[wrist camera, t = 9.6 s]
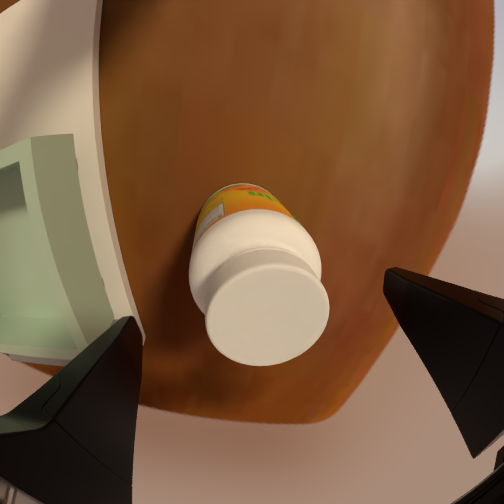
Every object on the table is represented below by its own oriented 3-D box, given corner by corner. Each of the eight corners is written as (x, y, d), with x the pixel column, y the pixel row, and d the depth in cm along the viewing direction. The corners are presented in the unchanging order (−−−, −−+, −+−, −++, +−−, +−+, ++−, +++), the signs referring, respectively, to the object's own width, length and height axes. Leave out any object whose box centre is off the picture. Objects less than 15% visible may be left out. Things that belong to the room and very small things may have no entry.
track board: (107, -32, 8) (89, -58, 5) (145, 336, 20) (136, 374, 16) (-15, 31, 7) (-43, 24, 4) (32, 336, 19) (14, 364, 15)
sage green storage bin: (85, 132, 13) (30, 136, 7) (120, 302, 17) (95, 360, 12) (-26, 175, 12) (-76, 195, 6) (12, 306, 16) (-21, 348, 11)
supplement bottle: (300, 216, 18) (379, 298, 9) (249, 278, 19) (278, 394, 10) (232, 164, 16) (256, 201, 7) (180, 235, 17) (151, 340, 8)
